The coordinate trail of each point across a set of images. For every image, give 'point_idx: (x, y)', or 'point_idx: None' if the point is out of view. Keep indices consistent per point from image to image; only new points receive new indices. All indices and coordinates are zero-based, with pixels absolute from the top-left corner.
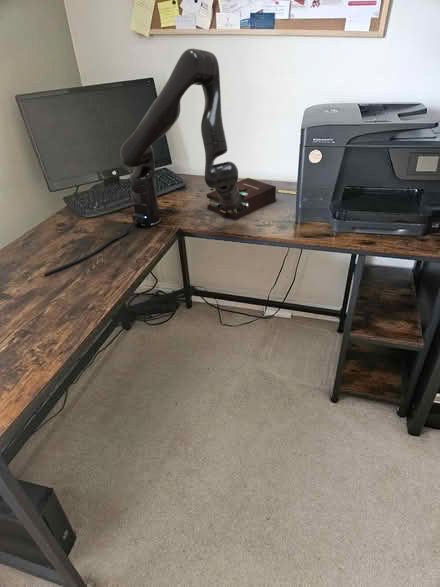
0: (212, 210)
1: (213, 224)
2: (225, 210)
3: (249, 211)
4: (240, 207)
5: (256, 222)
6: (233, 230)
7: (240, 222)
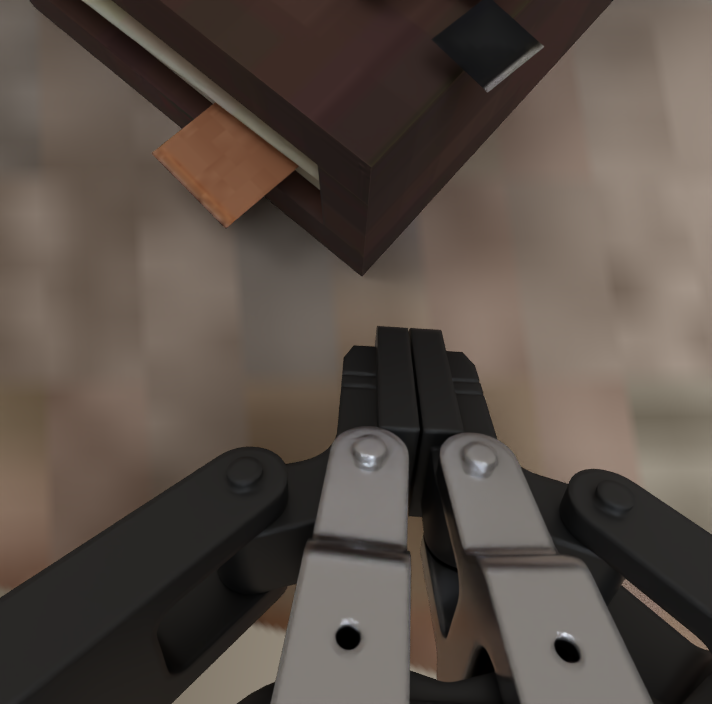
0: (88, 49)
1: (115, 393)
2: (222, 643)
3: (519, 97)
4: (613, 576)
5: (624, 336)
6: None
7: None
